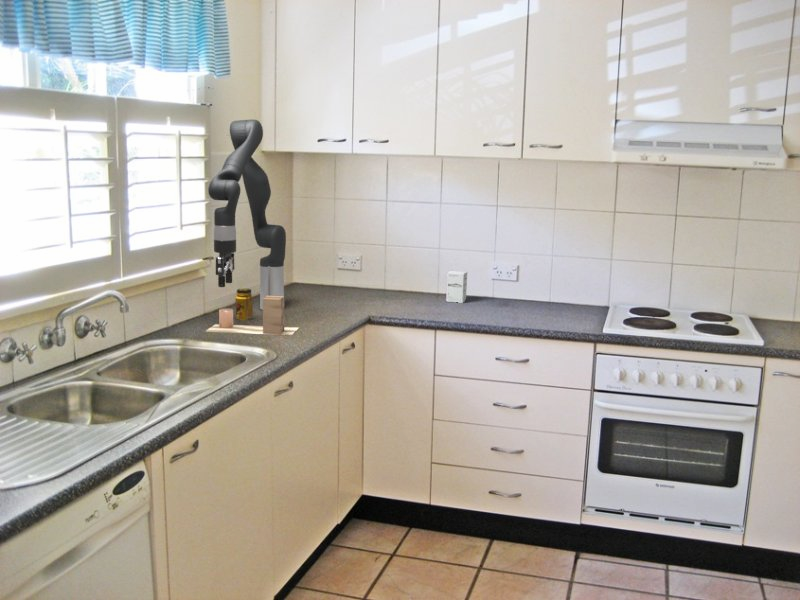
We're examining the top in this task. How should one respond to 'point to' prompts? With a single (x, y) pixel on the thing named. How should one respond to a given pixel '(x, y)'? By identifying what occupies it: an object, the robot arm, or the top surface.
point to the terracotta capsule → (226, 318)
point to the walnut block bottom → (273, 325)
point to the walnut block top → (273, 306)
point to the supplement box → (456, 286)
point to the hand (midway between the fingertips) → (225, 285)
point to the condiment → (244, 305)
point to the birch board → (248, 329)
